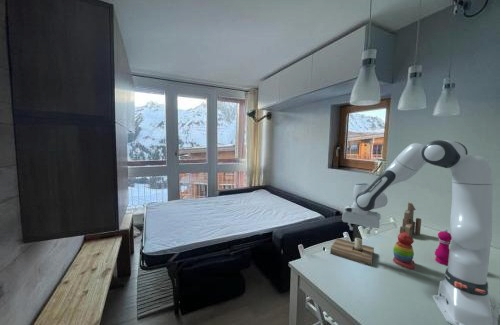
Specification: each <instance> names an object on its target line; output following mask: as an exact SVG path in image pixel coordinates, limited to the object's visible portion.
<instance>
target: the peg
mask: <svg viewBox="0 0 500 325" xmlns="http://www.w3.org/2000/svg"><path fill="white" fill-rule="evenodd" d="M354 242H355V245H354V250H355V251H359V252H361V251H362V245H363V239H362V238H359V237H355V238H354Z"/></svg>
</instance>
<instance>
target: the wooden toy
mask: <svg viewBox="0 0 500 325" xmlns="http://www.w3.org/2000/svg"><path fill="white" fill-rule="evenodd" d="M415 211H416V208H415V206H414V204H413V203H412V202H408V203H407V209H405V211H404V215H403V218H402V224H401V225H402V226H400V228H399V234H400V233H403V232H405V233H406V234H409V235H410V236H411V237H412V235H416V236H421V227H422V218H419V217H416V218H415V221H414V215H415V214H414V212H415Z"/></svg>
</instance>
